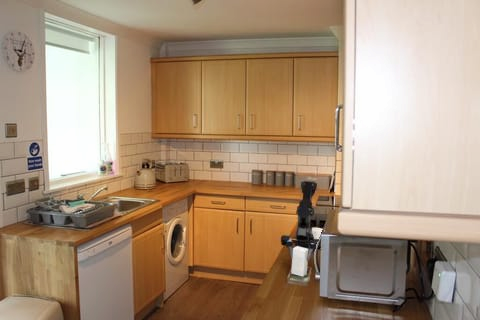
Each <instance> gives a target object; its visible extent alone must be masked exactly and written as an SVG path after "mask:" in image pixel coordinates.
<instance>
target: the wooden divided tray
mask: <svg viewBox="0 0 480 320" xmlns="http://www.w3.org/2000/svg"><path fill="white" fill-rule="evenodd" d="M291 270H292V265H290V269H289V272H288V275H287V277H286V284H289V285H296V286H301V287H309V283H310V281H311V280H310V279H311V275H312V272H313V271H312V270H313V267H311V266H307V272H308V273H307V274H306V275H305V276H303V277H302V276H299V275H295V274H292V273H291ZM311 271H312V272H311Z"/></svg>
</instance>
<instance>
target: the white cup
mask: <svg viewBox="0 0 480 320" xmlns="http://www.w3.org/2000/svg"><path fill="white" fill-rule="evenodd" d="M311 228H312V234H313V236H314V239H319V237H320V235H321V232H322V230H323V229H324V228H320V227H311Z"/></svg>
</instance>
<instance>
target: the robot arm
mask: <svg viewBox="0 0 480 320" xmlns="http://www.w3.org/2000/svg"><path fill="white" fill-rule="evenodd" d="M300 190H301V193H302V198H301V200H300V201H299V204H298V206H296V211H295V213H296V215H297V225H296V232H295V237H294V238H292V237H291V235H287V234H286V235H285V234H282V235H281V237H280V245H281V246H285V248H287V249H288V251H289V254H290V259H291V260H292V256H293V244H295V245H297V246H299V247H303V248H307V249H309V250H308V259H307V261H308V262H309V261H310V258H311V257H312V256H313V253H314V252H316V251H315V249H316V244H317V242H318V241H319V239H314V236H313V234H312V228H313V227H311V218H312V217H313V216H314V215H315V208H314V207H313V202H312V200H313V197H314V196H315V195H316V191H317V190H318V183H317V182H316V181H312V180H303V181H301V182H300ZM320 248H321V247H320V244H319V248H318V250H317V251H322V250H321V249H320Z"/></svg>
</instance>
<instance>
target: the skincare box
mask: <svg viewBox="0 0 480 320" xmlns="http://www.w3.org/2000/svg"><path fill="white" fill-rule="evenodd" d="M308 250H309V249H307V248H303V247H299V246H298V245H297V246H294V247H292V251H293V256H292V259H291V266H292V270H291V273H292V274H295V275H299V276H302V277H303V276H305V275H306V274H308V273H307V272H308V271H307V267H308V264H309V263H308V262H309V261H307V259H308Z"/></svg>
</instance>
